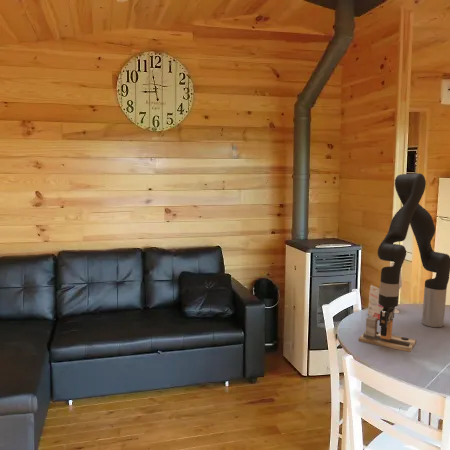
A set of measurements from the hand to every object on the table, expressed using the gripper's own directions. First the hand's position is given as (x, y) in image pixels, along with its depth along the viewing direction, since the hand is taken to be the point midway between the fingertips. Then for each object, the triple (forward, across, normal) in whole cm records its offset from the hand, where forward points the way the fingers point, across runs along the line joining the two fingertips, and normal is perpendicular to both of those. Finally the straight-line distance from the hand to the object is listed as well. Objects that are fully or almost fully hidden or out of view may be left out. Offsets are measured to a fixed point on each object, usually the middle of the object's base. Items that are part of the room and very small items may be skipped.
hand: (386, 332), depth 195 cm
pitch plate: (+5, -3, 0) cm, 6 cm away
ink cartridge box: (+5, -34, -12) cm, 36 cm away
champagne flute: (+5, -48, -8) cm, 49 cm away
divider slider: (+3, -3, 0) cm, 4 cm away
